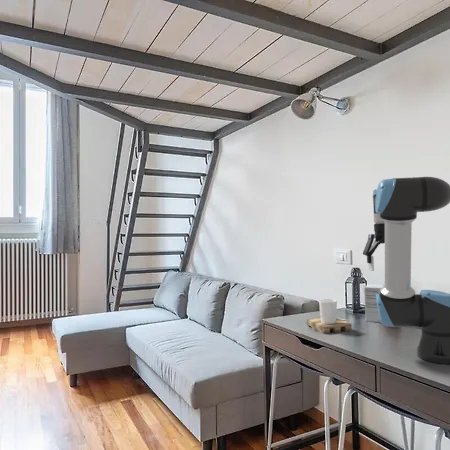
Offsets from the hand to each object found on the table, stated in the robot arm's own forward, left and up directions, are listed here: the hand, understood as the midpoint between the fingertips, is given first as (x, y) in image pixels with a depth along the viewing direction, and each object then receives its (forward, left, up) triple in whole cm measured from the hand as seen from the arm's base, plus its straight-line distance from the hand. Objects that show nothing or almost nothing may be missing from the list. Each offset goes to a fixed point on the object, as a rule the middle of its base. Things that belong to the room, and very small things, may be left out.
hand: (384, 269), depth 186 cm
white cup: (+9, +24, -24) cm, 35 cm away
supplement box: (+15, -6, -27) cm, 31 cm away
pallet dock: (+11, +23, -27) cm, 37 cm away
